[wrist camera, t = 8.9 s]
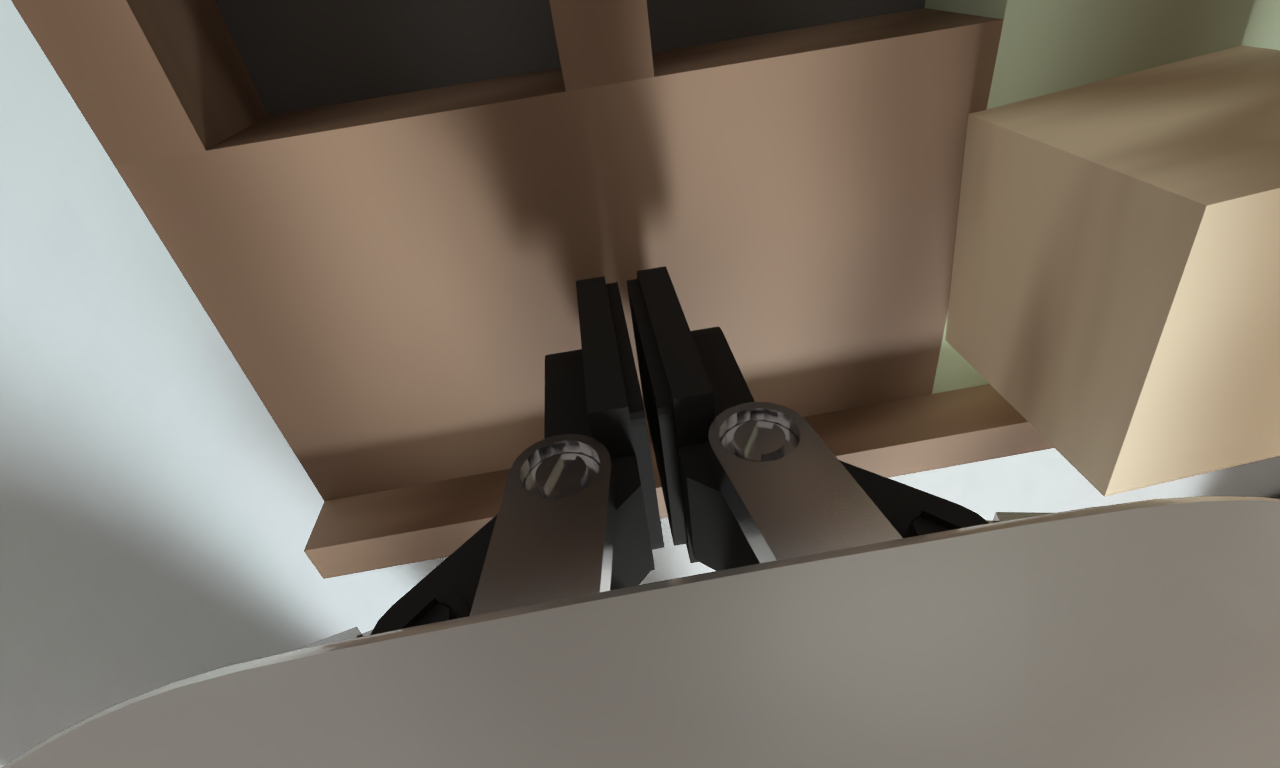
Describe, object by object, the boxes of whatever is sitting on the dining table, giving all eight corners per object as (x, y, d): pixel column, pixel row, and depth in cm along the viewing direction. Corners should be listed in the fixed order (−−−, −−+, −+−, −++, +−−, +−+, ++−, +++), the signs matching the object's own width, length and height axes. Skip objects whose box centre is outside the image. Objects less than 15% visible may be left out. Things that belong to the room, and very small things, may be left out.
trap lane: (1457, -636, 9) (2236, -1141, 5) (1105, 321, 18) (1264, 426, 14) (-81, -413, 8) (-682, -761, 4) (370, 450, 18) (316, 597, 14)
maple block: (1240, 45, 11) (1643, 98, 7) (1160, 288, 14) (1410, 425, 10) (968, 114, 11) (1206, 205, 7) (945, 340, 14) (1104, 496, 10)
